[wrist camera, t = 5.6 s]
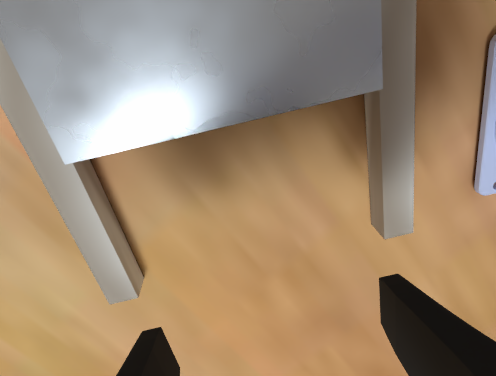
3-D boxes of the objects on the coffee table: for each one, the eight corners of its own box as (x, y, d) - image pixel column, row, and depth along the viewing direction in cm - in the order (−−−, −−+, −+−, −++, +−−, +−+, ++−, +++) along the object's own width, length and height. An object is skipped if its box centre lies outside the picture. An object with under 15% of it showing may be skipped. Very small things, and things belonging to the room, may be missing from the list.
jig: (394, -105, 12) (418, -125, 10) (397, 217, 18) (413, 232, 16) (-30, -4, 12) (-63, -10, 10) (117, 284, 18) (109, 304, 16)
